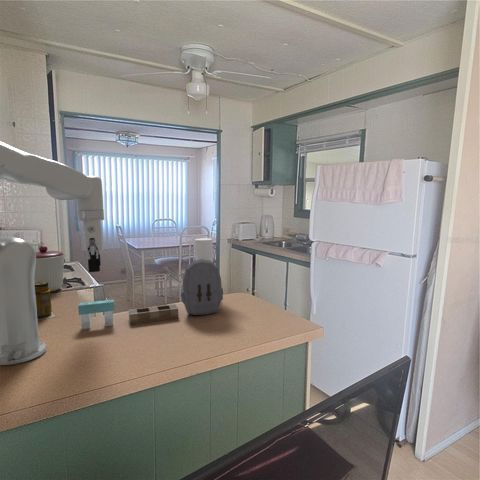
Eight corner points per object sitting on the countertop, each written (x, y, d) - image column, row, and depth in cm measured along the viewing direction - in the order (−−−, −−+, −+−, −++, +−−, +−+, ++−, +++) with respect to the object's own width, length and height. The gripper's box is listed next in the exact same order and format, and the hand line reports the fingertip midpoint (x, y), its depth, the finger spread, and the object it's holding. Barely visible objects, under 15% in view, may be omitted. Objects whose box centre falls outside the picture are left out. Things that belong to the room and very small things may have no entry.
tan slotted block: (178, 318, 118) (178, 308, 118) (130, 324, 112) (129, 314, 112) (175, 313, 124) (175, 303, 123) (129, 319, 118) (128, 309, 118)
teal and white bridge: (114, 325, 112) (113, 301, 111) (79, 330, 108) (78, 305, 108) (114, 322, 115) (113, 299, 114) (80, 326, 111) (79, 303, 110)
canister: (62, 283, 172) (60, 242, 170) (72, 290, 159) (69, 245, 156) (20, 290, 161) (17, 245, 159) (26, 297, 147) (22, 249, 145)
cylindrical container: (197, 301, 138) (196, 240, 135) (195, 297, 144) (193, 238, 142) (215, 300, 140) (213, 239, 137) (212, 295, 146) (210, 238, 144)
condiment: (51, 311, 128) (48, 280, 127) (56, 317, 122) (53, 284, 120) (28, 315, 124) (26, 283, 122) (32, 321, 117) (29, 287, 116)
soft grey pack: (221, 308, 128) (220, 256, 126) (225, 315, 120) (224, 260, 118) (180, 312, 124) (178, 258, 122) (182, 320, 116) (181, 262, 114)
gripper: (103, 216, 101) (107, 272, 103) (104, 214, 117) (107, 263, 119) (75, 217, 98) (80, 275, 100) (80, 215, 114) (84, 265, 116)
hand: (95, 268), depth 110 cm, fingers open, 9 cm apart
